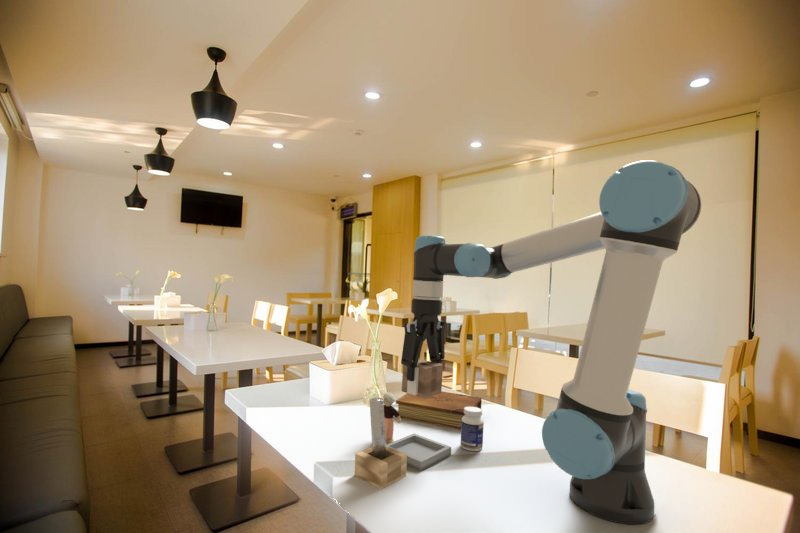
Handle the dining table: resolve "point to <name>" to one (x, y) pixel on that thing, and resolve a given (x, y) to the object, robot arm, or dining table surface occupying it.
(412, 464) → the tray
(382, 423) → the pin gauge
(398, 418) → the grandmother figurine
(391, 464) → the oak block
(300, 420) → the dining table surface
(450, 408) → the diary
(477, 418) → the pill bottle
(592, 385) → the robot arm
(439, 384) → the walnut block
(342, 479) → the dining table surface
